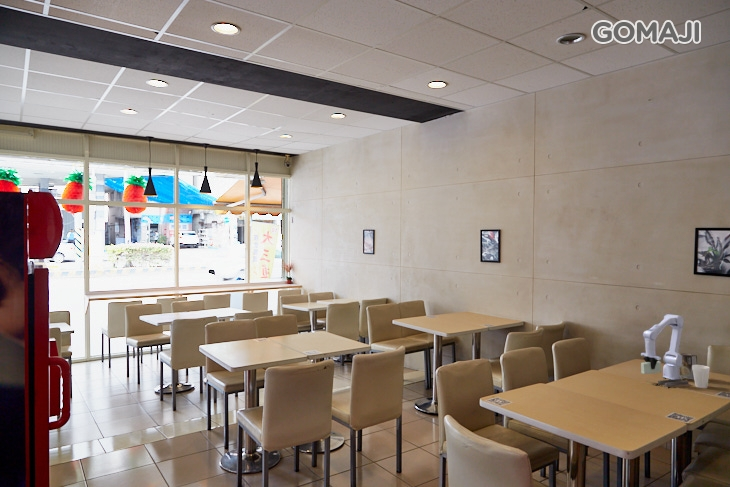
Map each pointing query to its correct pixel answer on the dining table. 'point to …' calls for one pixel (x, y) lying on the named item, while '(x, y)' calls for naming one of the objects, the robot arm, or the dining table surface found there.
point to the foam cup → (701, 375)
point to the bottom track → (673, 383)
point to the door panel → (647, 368)
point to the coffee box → (687, 365)
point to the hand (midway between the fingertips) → (651, 368)
